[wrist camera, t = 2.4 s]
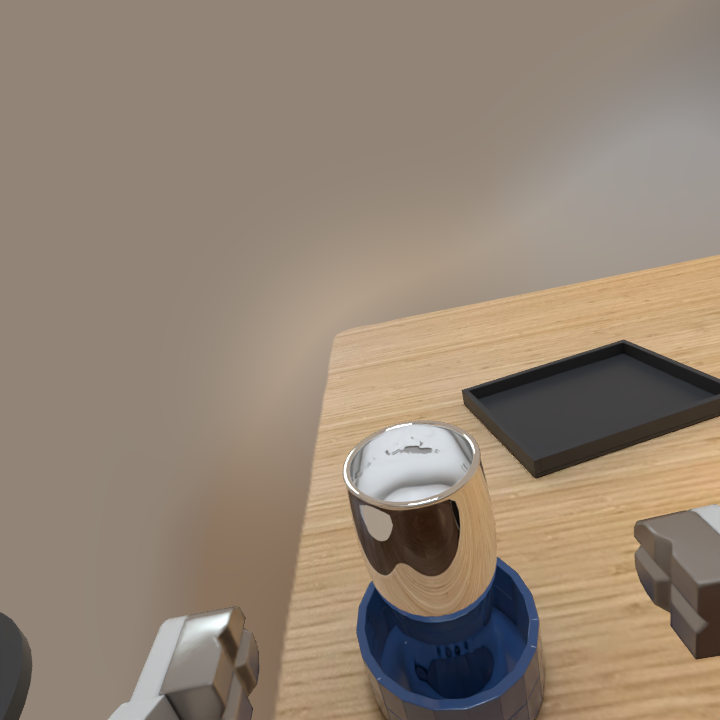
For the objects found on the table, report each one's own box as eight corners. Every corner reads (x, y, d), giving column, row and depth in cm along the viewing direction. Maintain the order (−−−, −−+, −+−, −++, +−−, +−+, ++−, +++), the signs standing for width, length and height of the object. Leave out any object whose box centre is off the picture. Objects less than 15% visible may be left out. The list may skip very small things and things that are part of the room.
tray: (535, 478, 41) (533, 460, 40) (463, 403, 55) (461, 389, 54) (743, 407, 43) (745, 389, 42) (623, 353, 57) (623, 339, 56)
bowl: (400, 796, 23) (381, 743, 21) (358, 621, 32) (343, 574, 30) (583, 721, 24) (580, 664, 22) (492, 572, 33) (485, 524, 31)
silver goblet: (452, 590, 32) (415, 404, 26) (541, 663, 27) (517, 448, 21) (374, 660, 29) (312, 465, 23) (456, 759, 23) (401, 536, 18)
